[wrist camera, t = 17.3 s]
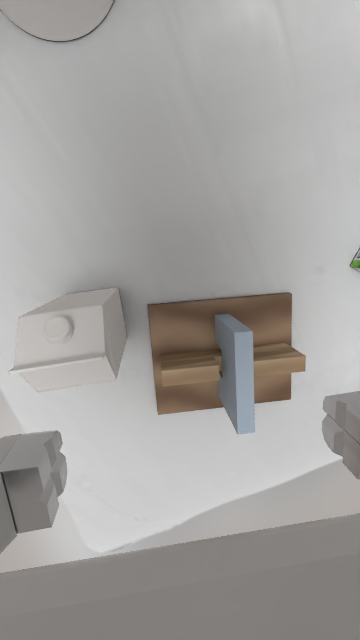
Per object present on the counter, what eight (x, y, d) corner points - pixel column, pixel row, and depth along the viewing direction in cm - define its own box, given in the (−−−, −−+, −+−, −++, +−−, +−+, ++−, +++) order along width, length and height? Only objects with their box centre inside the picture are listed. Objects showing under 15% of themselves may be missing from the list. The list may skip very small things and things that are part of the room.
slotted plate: (214, 314, 42) (234, 332, 32) (228, 313, 42) (252, 331, 32) (218, 395, 45) (237, 434, 35) (231, 393, 45) (254, 432, 35)
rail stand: (147, 304, 42) (147, 314, 35) (287, 292, 44) (314, 299, 37) (157, 410, 45) (159, 439, 38) (287, 395, 47) (311, 420, 40)
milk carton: (127, 337, 43) (111, 400, 24) (75, 345, 42) (19, 415, 24) (118, 286, 41) (94, 312, 23) (65, 294, 41) (-5, 327, 22)
